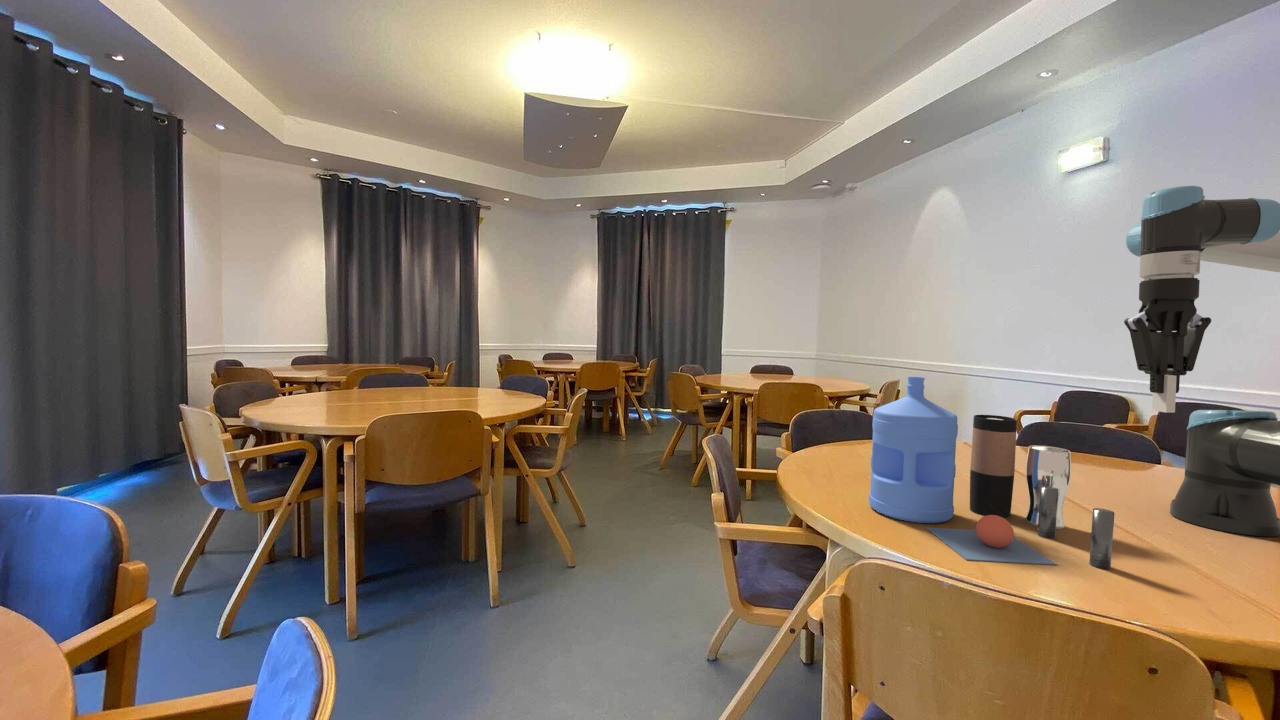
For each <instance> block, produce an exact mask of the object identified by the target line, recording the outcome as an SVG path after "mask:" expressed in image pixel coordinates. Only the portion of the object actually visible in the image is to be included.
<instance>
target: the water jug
mask: <svg viewBox="0 0 1280 720" xmlns="http://www.w3.org/2000/svg"><path fill="white" fill-rule="evenodd" d="M906 379H907V385H906V388H907V391H906V392H907V393H906V395H905V396H904V397H902V398H900V399H897V400H894V401H892V402H888V403H886V404H883V405H880V406H878V407H876V408H875V409H874V410H873V416H872V425H871V426H872V428H871V429H872V441H871V442H872V445H871V446H872V447H871V455H870V456H871V457H870V470H871V471H870V487H869V489H870V490H869V493H868V494H869V495H868V503H869V506H870V507H871V509H873V510H874V511H875V510H876V512H877V513H879V514H881V513H882V514H881V515H883V514H884V515H883V516H886V515H887V516H886V517H888V516H889V517H888V518H891V517H892V519H894V520H895V519H896V520H900V521H903V520H904V521H905V522H909V521H910V522H911V523H916V522H917V523H918V524H941V523H945V522H948V521H950V520H951V519H952V518H953V516H954V512H955V507H954V491H955V478H956V469H957V468H956V466H957V465H956V453H957V452H956V451H957V450H956V449H957V438H958V433H959V431H958V430H959V424H958V416H957V414H955V413H953V412H952V411H950V410H948V409H946V408H945V407H942V406H940V405H938V404H937V403H935V402H933V401H931V400H929V399H927V398H926V397H925V395H924V394H925V393H924V392H925V384H924V383H925V379H926V378H925V377H919V376H907V378H906Z"/></svg>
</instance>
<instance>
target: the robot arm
mask: <svg viewBox="0 0 1280 720" xmlns="http://www.w3.org/2000/svg"><path fill="white" fill-rule="evenodd" d="M1205 197H1206V195H1205V194H1204V189H1203V187H1201V186H1196V185H1183V186H1181V185H1179V186H1174V187H1168V188H1162V189H1159V190H1155V191H1153V192H1149V194H1147V195H1146V196H1145V197H1144V199H1143V202H1142V203H1143V204H1142V211H1141V216H1140V222H1138V223H1136V224H1134V225H1133V226H1132V227H1130V229H1129V230H1128V232H1127V233H1126V239H1125V245H1126V248H1127V250H1128V251H1129V252H1130V253H1131V254H1132V255H1134V256H1136V257H1139V258H1140V260H1139V278H1141V279H1143V280H1141V281H1140V282H1139V284H1138V300H1139V301H1140V302H1141V306H1140V308H1139V309H1138V314H1136V315H1134V316H1133V317H1130V318H1128V317H1127V318H1125V319H1124V320H1123V323H1124V325H1125V326H1126V329H1128V331H1129V333H1130V334H1129V335H1130V340H1131V344H1132V348H1133V352H1134V354H1133V355H1134V358H1135V362H1136V367H1137V370H1139V371H1140V372H1141V371H1142V372H1144V374H1146V375H1149V392H1150V393H1152V401H1151V411H1155V412H1159V413H1166V414H1167V413H1176V398H1177V396H1176V395H1177V394H1178V393H1179V391H1180V383H1181V382H1180V380H1181V379H1180V378H1181V376H1186V375H1187V372H1192V371H1193V370H1194V368H1195V364H1196V361H1197V358H1198V354H1199V352H1200V347H1201V344H1202V342H1203V338H1204V335H1205V331H1206V330H1207V328H1208V327H1209V326H1210V324H1211V323H1212V318H1211V317H1209V316H1207V317H1206V316H1205V317H1203V316H1202V315H1200V314H1199V313H1197V311H1198V310H1197V307H1196V305H1195V301H1196V300H1198V299H1199V297H1200V281H1201V279H1199V278H1198V277H1195V276H1198V275H1199V274H1200V271H1201V262H1202V261H1203V262H1208V263H1214V264H1215V263H1216V264H1222V265H1227V266H1233V267H1234V266H1235V267H1241V268H1246V269H1247V268H1248V269H1255V270H1261V271H1267V272H1268V271H1269V272H1274V273H1280V202H1278V201H1276V200H1273V199H1269V198H1256V197H1248V198H1236V199H1235V198H1231V199H1205ZM1188 419H1189V420H1188V425H1187V427H1186V444H1185V463H1184V476H1183V477H1184V478H1183V480H1182V483H1181V484H1180V486H1179V489H1178V490H1177V493H1176V495H1175V497H1174V499H1172V500H1171V502H1170V504H1169V506H1170V508H1169V514H1170V515H1171V516H1173V518H1176V519H1178V520H1181V521H1184V522H1187V523H1190V524H1193V525H1197V526H1201V527H1203V528H1207V529H1212V530H1216V531H1217V530H1218V531H1221V532H1227V533H1232V534H1233V533H1234V534H1239V535H1246V536H1254V537H1256V536H1257V537H1277V536H1280V518H1279V517H1278V513H1277V509H1276V505H1275V503H1274V499H1273V497H1272V493H1271V484H1272V485H1277V486H1280V420H1278V419H1279V418H1278V417H1277V414H1276V413H1275V412H1274V411H1267V410H1266V411H1265V410H1228V409H1227V410H1226V409H1225V410H1224V409H1198V410H1194V411H1192V412H1191V413H1190V415H1189V418H1188Z"/></svg>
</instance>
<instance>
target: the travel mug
mask: <svg viewBox="0 0 1280 720" xmlns="http://www.w3.org/2000/svg"><path fill="white" fill-rule="evenodd" d="M972 421H973V424H972V436H971V437H972V439H971V440H972V441H971V452H970V454H971V455H970V468H969V469H970V471H969V510H970V511H971V512H972V513H974V514H977V515H981V516H983V517H984V516H987V515H997V516H1000V517H1002V518H1004V519H1006V518H1010V517H1011V512H1012V511H1011V510H1012V502H1013V493H1014V492H1013V491H1014V483H1015V482H1014V481H1015V470H1016V468H1015V467H1016V448H1017V446H1016V445H1017V425H1018V420H1016V418H1013V417H1010V416H1004V415H995V414H975V415H973V420H972Z"/></svg>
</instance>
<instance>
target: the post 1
mask: <svg viewBox="0 0 1280 720" xmlns="http://www.w3.org/2000/svg"><path fill="white" fill-rule="evenodd" d="M1057 502H1058V489H1057V488H1054V487H1049V486H1041V487H1040V503H1039V519H1038V527H1037V536H1039V537H1041V538H1043V539H1044V538H1045V539H1051V540H1054V539H1056V533H1057V530H1056V518H1057Z"/></svg>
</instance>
